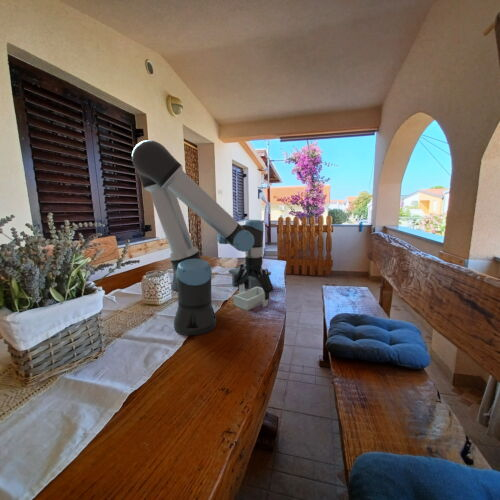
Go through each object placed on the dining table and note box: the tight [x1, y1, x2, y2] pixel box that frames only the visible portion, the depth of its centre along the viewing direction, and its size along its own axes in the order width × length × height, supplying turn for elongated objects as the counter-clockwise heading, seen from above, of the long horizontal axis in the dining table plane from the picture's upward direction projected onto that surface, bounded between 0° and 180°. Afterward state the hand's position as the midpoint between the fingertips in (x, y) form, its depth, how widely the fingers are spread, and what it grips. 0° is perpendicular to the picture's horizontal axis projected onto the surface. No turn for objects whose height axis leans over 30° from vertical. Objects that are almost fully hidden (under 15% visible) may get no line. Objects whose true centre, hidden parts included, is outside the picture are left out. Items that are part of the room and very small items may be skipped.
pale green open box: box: [233, 287, 271, 311], centre depth 113 cm, size 16×8×4 cm, turn 139°
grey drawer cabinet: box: [228, 266, 272, 290], centre depth 134 cm, size 13×18×8 cm
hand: (253, 301), depth 114 cm, fingers open, 13 cm apart
